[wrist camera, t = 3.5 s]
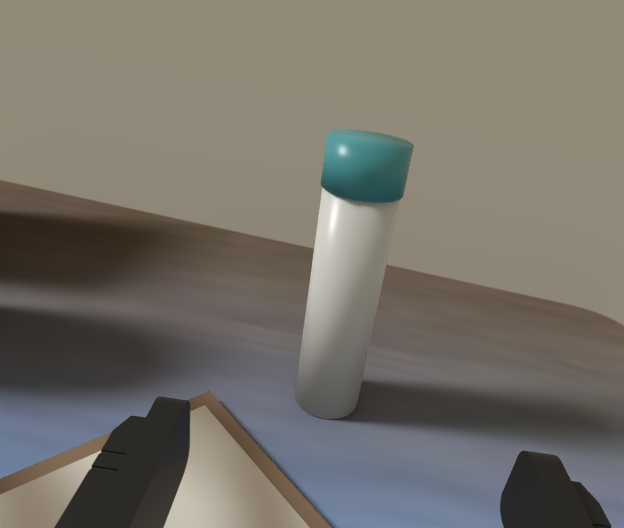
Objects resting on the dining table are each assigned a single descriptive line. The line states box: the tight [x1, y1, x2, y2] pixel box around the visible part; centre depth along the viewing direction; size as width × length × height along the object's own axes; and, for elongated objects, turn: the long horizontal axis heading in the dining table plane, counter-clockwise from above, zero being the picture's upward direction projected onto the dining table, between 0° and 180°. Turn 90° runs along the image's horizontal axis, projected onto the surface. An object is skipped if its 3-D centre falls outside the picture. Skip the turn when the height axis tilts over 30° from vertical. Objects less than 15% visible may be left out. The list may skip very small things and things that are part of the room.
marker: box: [295, 130, 414, 419], centre depth 22 cm, size 3×3×13 cm
